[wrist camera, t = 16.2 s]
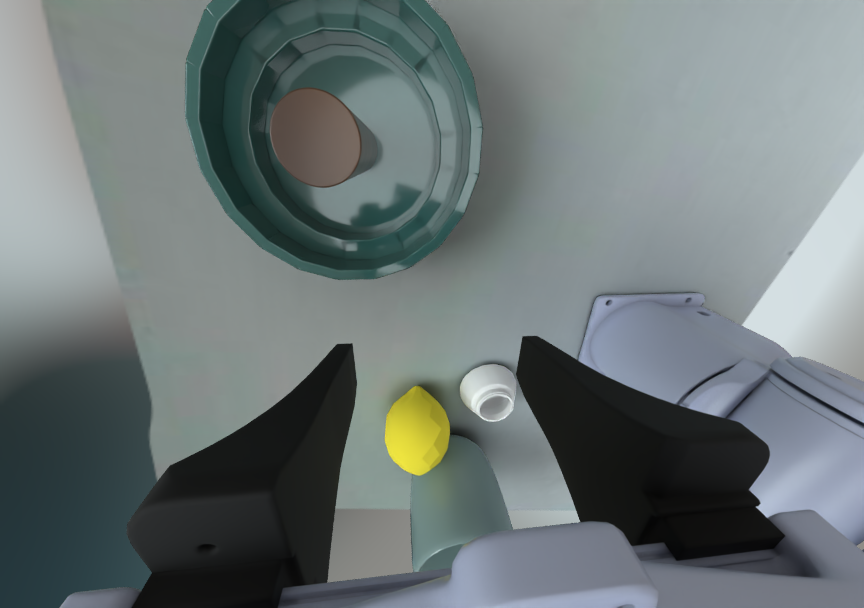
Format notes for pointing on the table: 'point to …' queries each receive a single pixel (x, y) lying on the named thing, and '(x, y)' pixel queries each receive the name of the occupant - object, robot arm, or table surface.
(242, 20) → the bowl
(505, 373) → the lidless jar
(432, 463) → the lemon
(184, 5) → the table surface
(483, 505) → the cup
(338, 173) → the brown cylinder
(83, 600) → the robot arm
